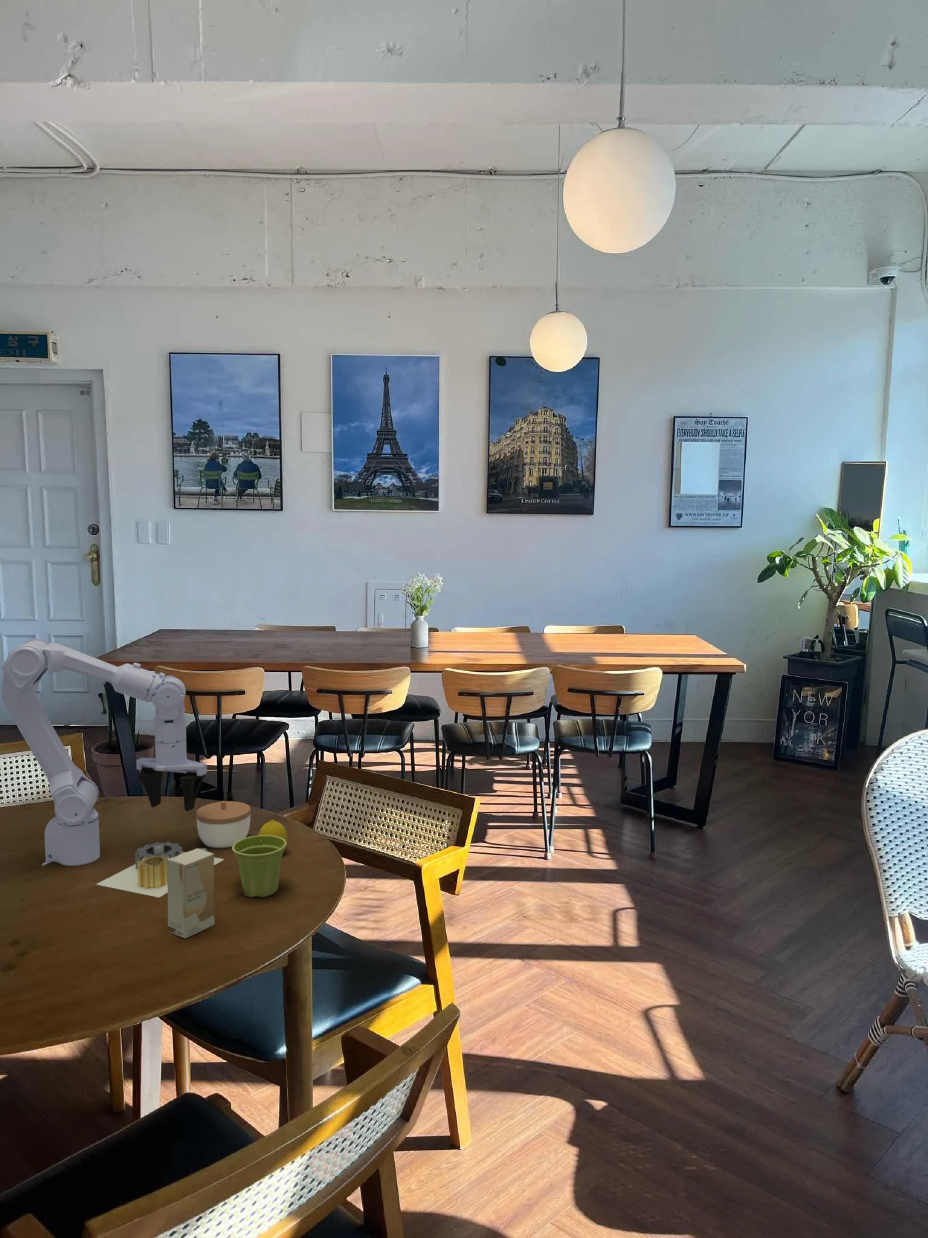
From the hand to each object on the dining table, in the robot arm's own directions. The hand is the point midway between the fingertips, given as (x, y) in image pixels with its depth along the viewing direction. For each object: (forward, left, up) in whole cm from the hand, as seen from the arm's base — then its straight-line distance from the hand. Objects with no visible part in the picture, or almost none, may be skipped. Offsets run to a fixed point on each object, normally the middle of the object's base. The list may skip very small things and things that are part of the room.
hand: (172, 807), depth 164 cm
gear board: (+5, -9, -10) cm, 14 cm away
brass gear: (+7, -13, -9) cm, 17 cm away
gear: (+3, -7, -9) cm, 11 cm away
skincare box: (+23, -23, -10) cm, 34 cm away
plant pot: (+25, -7, -10) cm, 28 cm away
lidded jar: (+6, +8, -10) cm, 14 cm away
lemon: (+19, +6, -10) cm, 22 cm away
